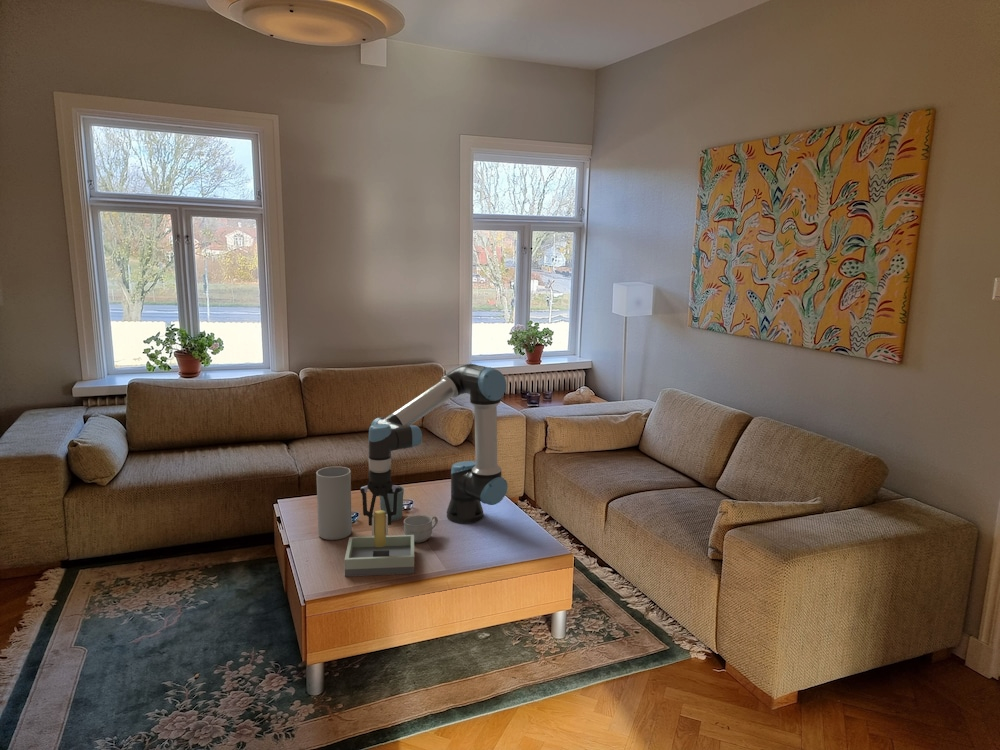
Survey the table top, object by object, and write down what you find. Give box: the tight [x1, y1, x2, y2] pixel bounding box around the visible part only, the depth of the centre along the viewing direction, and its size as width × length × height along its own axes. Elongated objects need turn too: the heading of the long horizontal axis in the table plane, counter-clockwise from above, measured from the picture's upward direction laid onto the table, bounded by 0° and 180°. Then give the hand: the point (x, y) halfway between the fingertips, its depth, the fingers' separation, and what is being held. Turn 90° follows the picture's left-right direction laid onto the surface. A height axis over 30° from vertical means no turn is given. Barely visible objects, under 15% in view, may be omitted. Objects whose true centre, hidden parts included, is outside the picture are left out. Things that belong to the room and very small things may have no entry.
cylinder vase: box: [315, 466, 353, 541], centre depth 253 cm, size 12×12×25 cm
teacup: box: [403, 514, 439, 543], centre depth 252 cm, size 14×11×8 cm
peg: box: [373, 509, 387, 547], centre depth 232 cm, size 4×4×12 cm
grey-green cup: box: [378, 484, 405, 522], centre depth 272 cm, size 10×10×12 cm
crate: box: [344, 534, 415, 577], centre depth 232 cm, size 23×18×6 cm
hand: (380, 533), depth 232 cm, fingers closed on peg, 4 cm apart
